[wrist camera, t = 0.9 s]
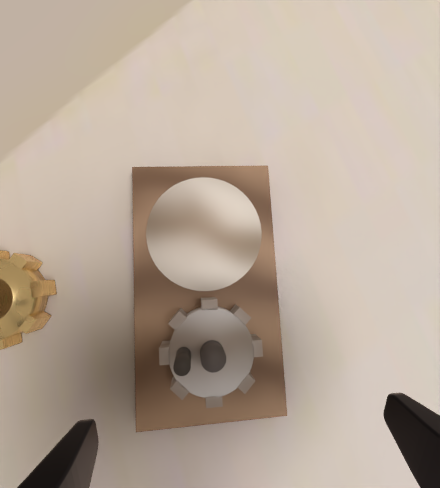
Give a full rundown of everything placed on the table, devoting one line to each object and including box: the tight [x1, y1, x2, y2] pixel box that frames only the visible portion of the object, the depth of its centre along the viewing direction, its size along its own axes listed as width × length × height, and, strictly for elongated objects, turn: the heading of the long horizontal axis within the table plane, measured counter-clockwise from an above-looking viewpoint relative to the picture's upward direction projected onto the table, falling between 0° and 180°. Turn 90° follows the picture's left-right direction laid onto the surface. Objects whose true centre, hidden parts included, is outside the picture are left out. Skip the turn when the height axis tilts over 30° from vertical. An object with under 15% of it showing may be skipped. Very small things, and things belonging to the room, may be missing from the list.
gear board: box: [132, 166, 287, 432], centre depth 19 cm, size 20×11×6 cm, turn 2°
